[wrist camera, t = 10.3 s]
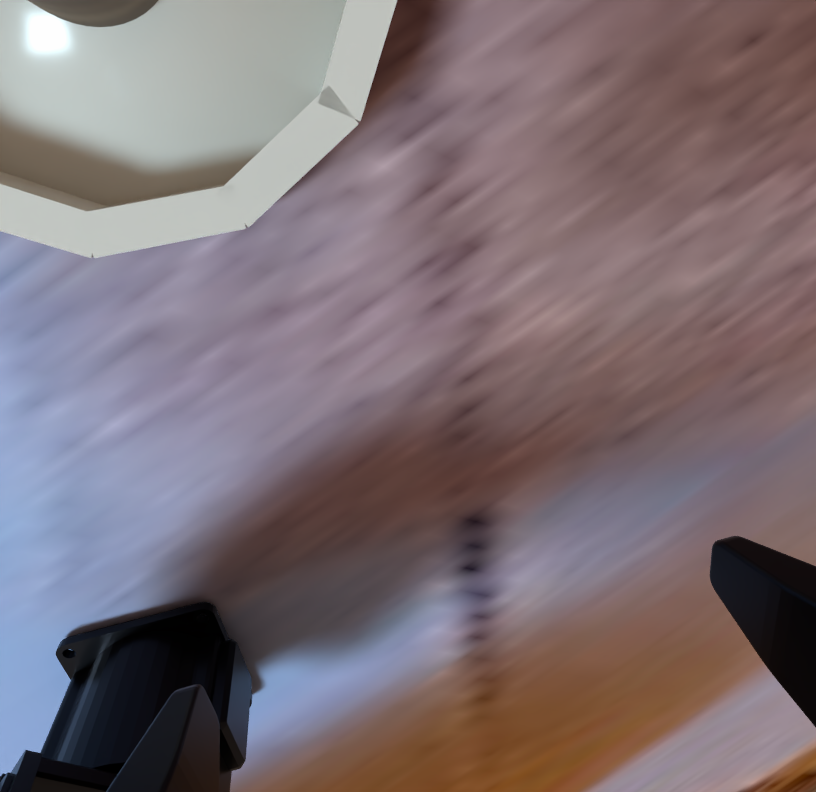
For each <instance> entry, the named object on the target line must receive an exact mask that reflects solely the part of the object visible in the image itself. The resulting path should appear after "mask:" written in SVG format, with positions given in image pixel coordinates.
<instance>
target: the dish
mask: <svg viewBox="0 0 816 792" xmlns="http://www.w3.org/2000/svg"><path fill="white" fill-rule="evenodd" d="M396 3H397V0H158V1H157V2H156V4H155V5H154V6H153V7H152V8H151V9H149V10H148V11H147V12H146V13H145V14H143V15H141V16H140V17H138V18H136V19H135V20H132V21H130V22H127V23H125V24H121V25H116V26H112V27H90V26H83V25H79V24H74V23H71V22H68V21H66V20H63V19H60V18H58V17H56V16H54V15H52V14H50V13H48V12H46V11H44V10H43V9H41V8H39V7H38V6H36V5H34V4H33V3H31V2H29V1H28V0H0V231H2V232H5V233H8V234H12V235H15V236H19V237H22V238H25V239H29V240H32V241H35V242H39V243H42V244H45V245H49V246H52V247H55V248H59V249H62V250H65V251H69V252H72V253H76V254H79V255H82V256H86V257H89V258H92V257H94V258H98V257H104V256H109V255H114V254H119V253H124V252H129V251H134V250H140V249H145V248H150V247H155V246H160V245H165V244H170V243H176V242H181V241H186V240H191V239H196V238H201V237H206V236H212V235H217V234H222V233H227V232H232V231H237V230H242V229H246V228H247V226H248V227H250V226H251V225H252V224H253V223H254V222H255V221H256V220H257V219H258V218H259V217H260V216H261V215H262V214H263V213H265V212H266V211H267V210H268V209H269V208H270V207H271V206H272V205H273V204H274V203H275V202H276V201H277V200H278V199H279V198H281V197H282V196H283V195H284V194H285V193H286V192H287V191H288V190H289V189H290V188H291V187H292V186H293V185H294V184H295V183H297V182H298V181H299V180H300V179H301V178H302V177H303V176H304V175H305V174H306V173H307V172H308V171H309V170H310V169H311V168H312V167H314V166H315V165H316V164H317V163H318V162H319V161H320V160H321V159H322V158H323V157H324V156H325V155H326V154H327V153H328V152H330V151H331V150H332V149H333V148H334V147H335V146H336V145H337V144H338V143H339V142H340V141H341V140H342V139H343V138H344V137H346V136H347V135H348V134H349V133H350V132H351V131H352V130H353V129H354V128H355V127H356V126H357V125H358V122H360V121H361V118H362V115H363V111H364V108H365V105H366V101H367V98H368V95H369V92H370V88H371V85H372V82H373V78H374V75H375V72H376V69H377V65H378V62H379V59H380V55H381V52H382V49H383V46H384V42H385V39H386V36H387V32H388V29H389V26H390V23H391V19H392V16H393V13H394V9H395V6H396Z"/></svg>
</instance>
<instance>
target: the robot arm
mask: <svg viewBox="0 0 816 792" xmlns="http://www.w3.org/2000/svg"><path fill="white" fill-rule="evenodd" d="M710 580H711V583H712V586H713V588H714V590H715V591H716V593H717V594H718V596H719V597H720V599H721V600H722V602H723V603H724V605H725V606H726V608H727V609H728V611H729V612H730V614H731V615H732V617H733V618H734V620H735V621H736V622H737V624H738V625H739V627H740V628H741V630H742V631H743V633H744V634H745V636H746V637H747V639H748V640H749V642H750V643H751V645H752V646H753V648H754V649H755V651H756V652H757V654H758V655H759V656H760V658H761V659H762V661H763V662H764V663H765V665H766V666H767V668H768V669H769V670H770V672H771V673H772V674H773V675H774V677H775V678H776V679H777V680H778V682H779V683H780V684H781V685H782V687H783V688H784V689H785V690H786V692H787V693H788V694H789V695H790V696H791V698H792V699H793V700H794V701H795V703H796V704H797V705H798V706H799V707H800V709H801V710H802V711H803V712H804V714H805V715H806V716H807V717H808V718H809V720H810V721H811V722H812V723H813V725H814V726H815V727H816V566H814V565H811V564H809V563H806V562H804V561H801V560H798V559H796V558H793V557H791V556H788V555H786V554H783V553H781V552H778V551H776V550H773V549H771V548H768V547H766V546H763V545H760V544H758V543H755V542H753V541H750V540H748V539H745V538H743V537H739V536H732V537H728V538H724V539H721V540H717V541H716V542H715V543H714V544H713V546H712V555H711V566H710ZM200 614H207V616H202V615H200ZM68 649H72V650H73V651H71V650H68ZM56 656H57V658H58V660H59V662H60V663H61V665H62V666H63V668H64V670H65V671H66V673H67V675H68V676H69V678H70V679H71V682H70V684H69V686H68V689H67V691H66V694H65V696H64V698H63V701H62V703H61V705H60V708H59V710H58V712H57V715H56V717H55V720H54V722H53V724H52V727H51V729H50V731H49V734H48V736H47V738H46V741H45V743H44V746H43V748H42V750H41V753H37V752H32V751H28V750H25V752H24V753H23V755H22V756H21V758H20V759H19V761H18V763H17V764H16V766H15V767H14V769H13V770H12V772H11V773H7V774H2V776H0V792H230V783H231V773H232V771H233V770H236V769H240V768H241V767H242V765H243V764H244V762H245V759H246V747H247V734H248V721H249V708H250V706H251V704H252V692H251V683H252V679H251V676H250V674H249V671H248V669H247V666H246V664H245V661H244V659H243V657H242V654H241V652H240V649H239V647H238V645H237V643H236V642H235V641H234V640H232V639H230V640H229V638H228V635H227V633H226V631H225V628H224V626H223V623H222V621H221V619H220V616H219V614H218V612H217V609H216V607H215V606H214V605H213V604H211V603H207V602H203V603H198V604H194V605H190V606H186V607H182V608H179V609H175V610H171V611H167V612H163V613H160V614H156V615H152V616H148V617H144V618H141V619H137V620H133V621H129V622H125V623H121V624H118V625H114V626H110V627H106V628H102V629H99V630H95V631H91V632H87V633H83V634H79V635H76V636H72V637H68V638H66V639H63V640H62V641H61V642H60V644H59V646H58V648H57V651H56Z"/></svg>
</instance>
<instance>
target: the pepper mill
mask: <svg viewBox="0 0 816 792" xmlns="http://www.w3.org/2000/svg"><path fill="white" fill-rule="evenodd" d="M28 1H29V2H31V3H33V4H34V5H36V6H38V7H39V8H41V9H43V10H44V11H46V12H48V13H50V14H52V15H54V16H56V17H58V18H60V19H63V20H66V21H68V22H71V23H74V24H79V25H83V26H90V27H112V26H116V25H121V24H125V23H127V22H130V21H132V20H135V19H136V18H138V17H140V16H141V15H143V14H145V13H146V12H147V11H148V10H149V9H151V8H152V7H153V6H154V5H155V4H156V2H157V1H158V0H28Z"/></svg>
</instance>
